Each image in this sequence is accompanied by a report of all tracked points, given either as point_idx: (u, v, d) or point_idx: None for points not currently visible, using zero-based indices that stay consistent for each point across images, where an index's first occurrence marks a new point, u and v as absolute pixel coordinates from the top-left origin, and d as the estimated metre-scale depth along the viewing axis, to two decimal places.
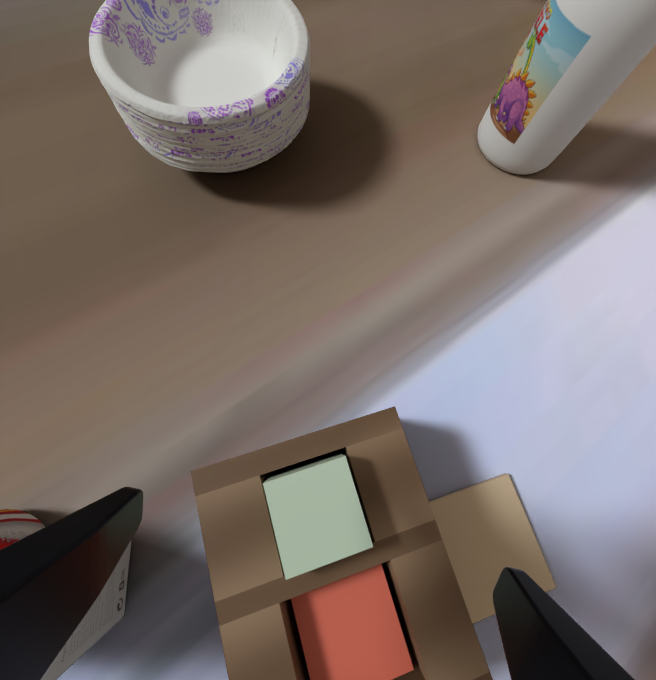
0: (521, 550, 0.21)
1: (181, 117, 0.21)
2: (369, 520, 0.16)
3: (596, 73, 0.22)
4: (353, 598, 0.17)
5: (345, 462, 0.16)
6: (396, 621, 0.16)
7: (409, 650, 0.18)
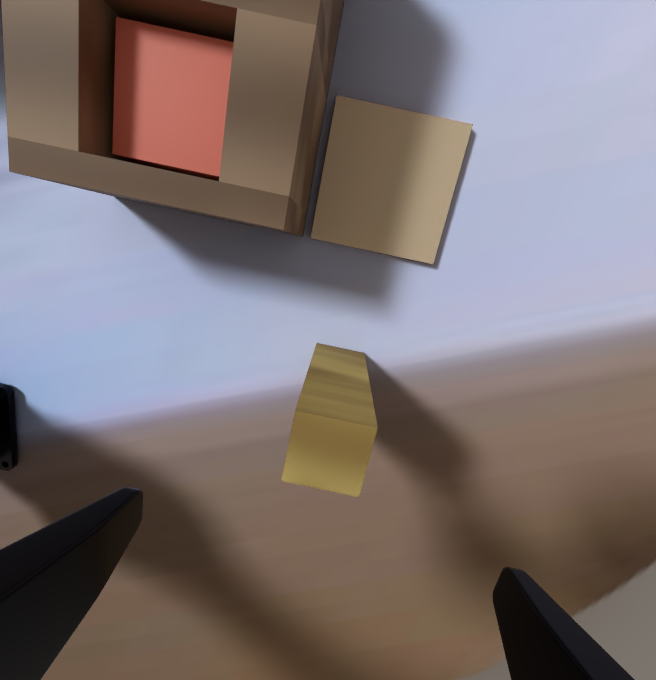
0: (423, 211, 0.18)
1: None
2: None
3: None
4: (188, 67, 0.13)
5: None
6: None
7: None
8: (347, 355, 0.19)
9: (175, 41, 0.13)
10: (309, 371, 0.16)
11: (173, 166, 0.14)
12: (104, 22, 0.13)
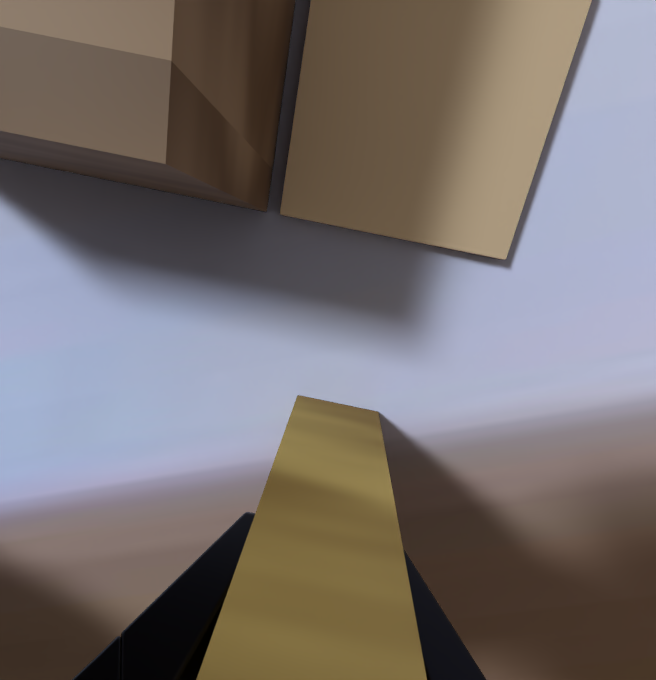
0: (492, 159, 0.09)
1: None
2: None
3: None
4: None
5: None
6: None
7: None
8: (349, 422, 0.11)
9: None
10: (267, 491, 0.07)
11: None
12: None
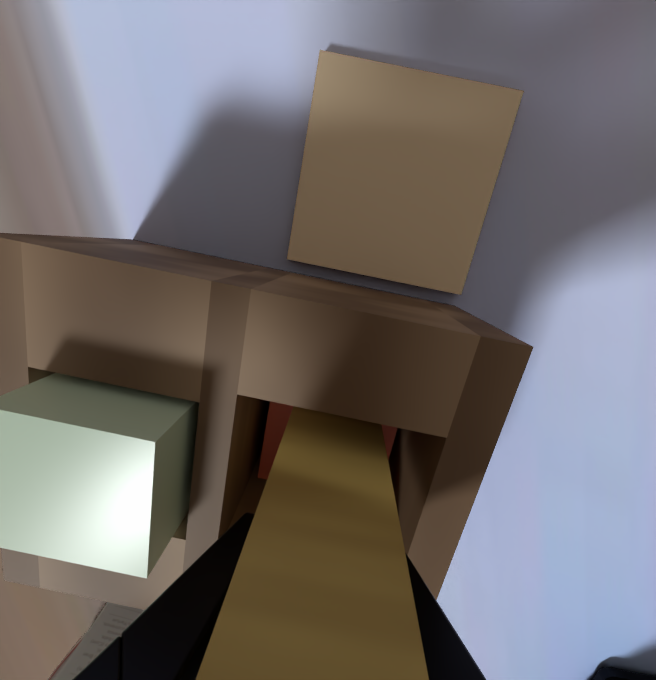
0: (438, 117, 0.11)
1: None
2: (163, 393, 0.09)
3: None
4: None
5: None
6: None
7: None
8: (350, 420, 0.11)
9: (275, 427, 0.12)
10: (267, 489, 0.07)
11: (391, 445, 0.12)
12: None
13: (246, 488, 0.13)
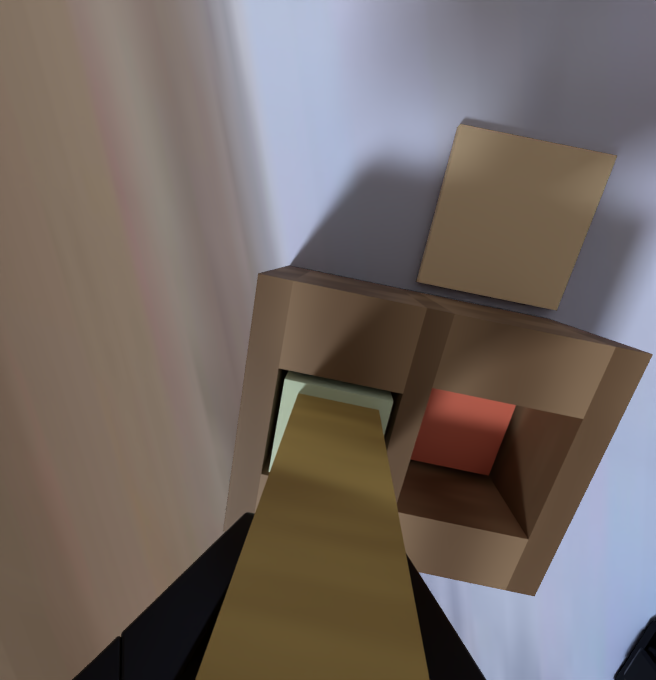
0: (549, 174, 0.15)
1: None
2: (377, 387, 0.12)
3: None
4: (432, 407, 0.16)
5: (291, 383, 0.12)
6: None
7: None
8: (350, 420, 0.11)
9: None
10: (267, 488, 0.07)
11: (505, 429, 0.16)
12: (405, 492, 0.15)
13: None
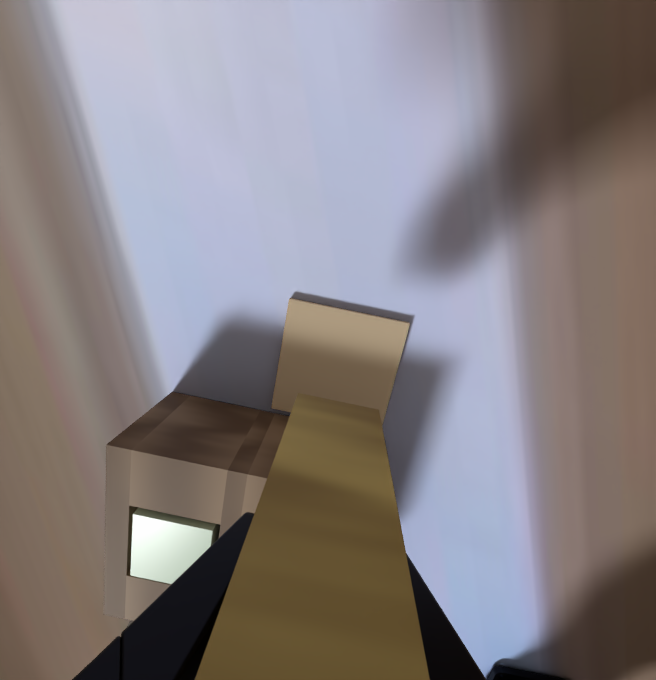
0: (361, 335, 0.19)
1: None
2: (201, 519, 0.16)
3: None
4: None
5: (138, 516, 0.16)
6: None
7: None
8: (350, 419, 0.11)
9: None
10: (267, 488, 0.07)
11: None
12: None
13: None
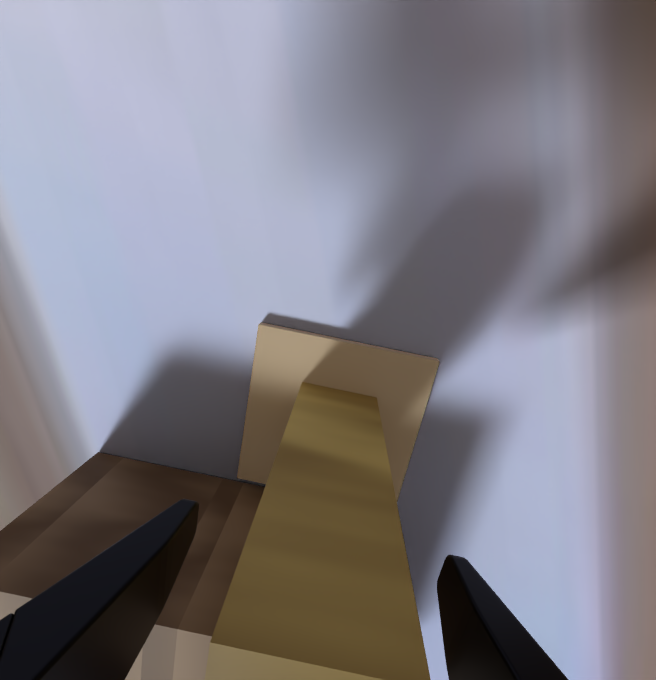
0: (366, 378, 0.13)
1: None
2: None
3: None
4: None
5: None
6: None
7: None
8: (350, 405, 0.12)
9: None
10: (278, 459, 0.08)
11: None
12: None
13: None
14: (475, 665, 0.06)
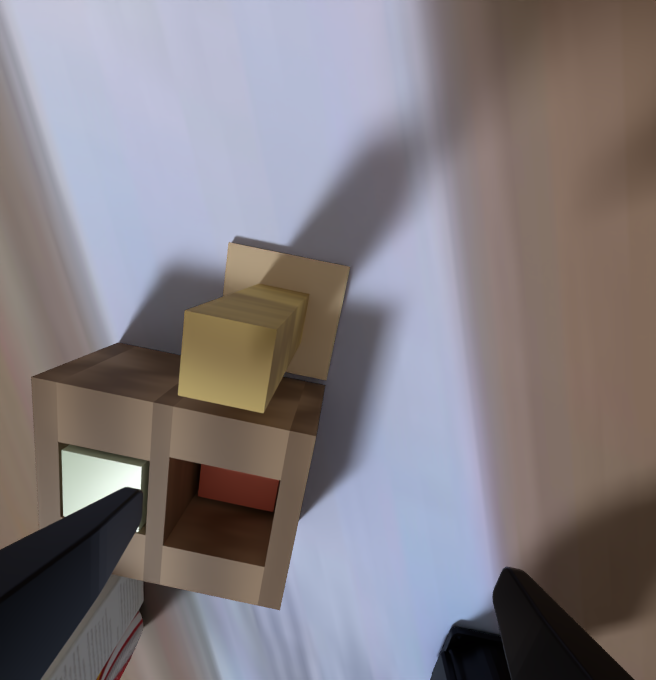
0: (302, 280, 0.19)
1: None
2: (130, 456, 0.16)
3: None
4: None
5: (66, 453, 0.16)
6: None
7: None
8: (288, 292, 0.18)
9: (207, 465, 0.20)
10: (230, 294, 0.14)
11: None
12: (186, 528, 0.19)
13: (190, 503, 0.20)
14: None
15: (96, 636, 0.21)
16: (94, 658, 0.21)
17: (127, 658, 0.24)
